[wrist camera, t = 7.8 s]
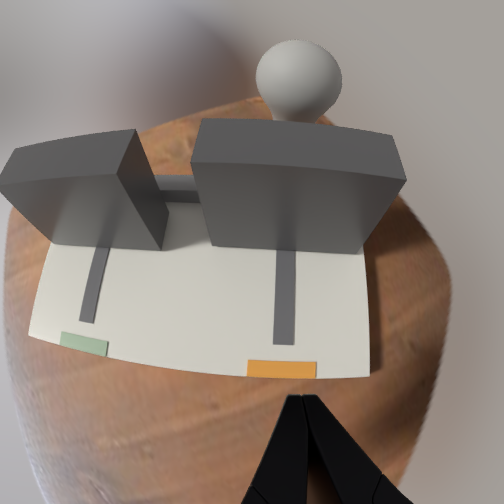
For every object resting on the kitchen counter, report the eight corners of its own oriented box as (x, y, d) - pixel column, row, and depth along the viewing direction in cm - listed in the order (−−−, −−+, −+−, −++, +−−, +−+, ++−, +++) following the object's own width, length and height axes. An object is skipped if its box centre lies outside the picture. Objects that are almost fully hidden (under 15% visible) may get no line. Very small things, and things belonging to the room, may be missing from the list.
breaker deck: (361, 377, 17) (379, 375, 14) (39, 339, 18) (16, 331, 15) (351, 208, 23) (362, 185, 20) (78, 199, 23) (63, 179, 20)
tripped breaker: (356, 254, 19) (406, 180, 12) (211, 246, 19) (190, 162, 12) (351, 216, 20) (392, 135, 13) (217, 207, 20) (202, 118, 13)
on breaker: (161, 250, 19) (116, 173, 12) (54, 244, 19) (-6, 185, 12) (169, 212, 20) (135, 128, 13) (65, 211, 20) (15, 148, 13)
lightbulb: (335, 153, 25) (364, 50, 15) (295, 190, 23) (318, 72, 13) (283, 122, 27) (292, 23, 17) (240, 153, 25) (236, 42, 15)
